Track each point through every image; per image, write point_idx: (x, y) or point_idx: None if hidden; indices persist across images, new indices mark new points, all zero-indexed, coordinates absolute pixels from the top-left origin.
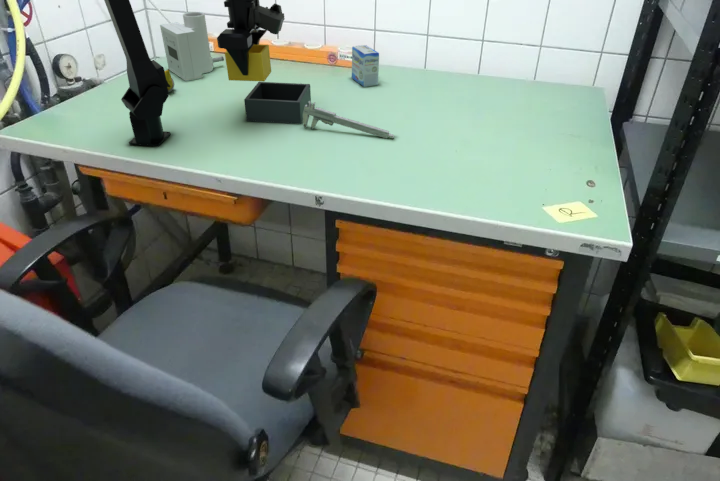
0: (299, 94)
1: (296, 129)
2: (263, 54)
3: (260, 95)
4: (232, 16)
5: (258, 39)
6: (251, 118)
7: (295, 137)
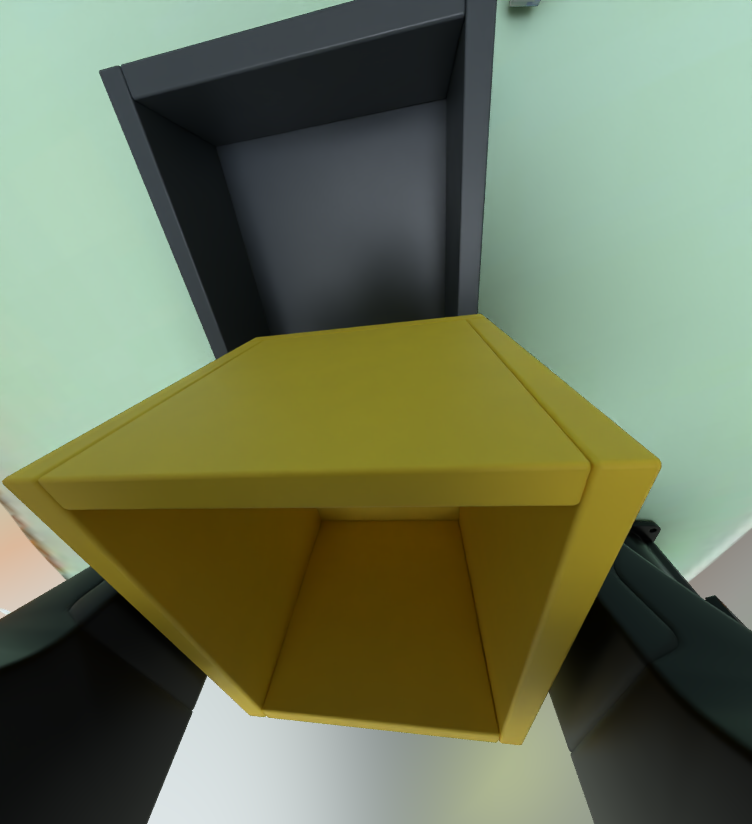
0: (202, 185)
1: (539, 73)
2: (441, 425)
3: None
4: None
5: (13, 676)
6: None
7: (664, 20)
